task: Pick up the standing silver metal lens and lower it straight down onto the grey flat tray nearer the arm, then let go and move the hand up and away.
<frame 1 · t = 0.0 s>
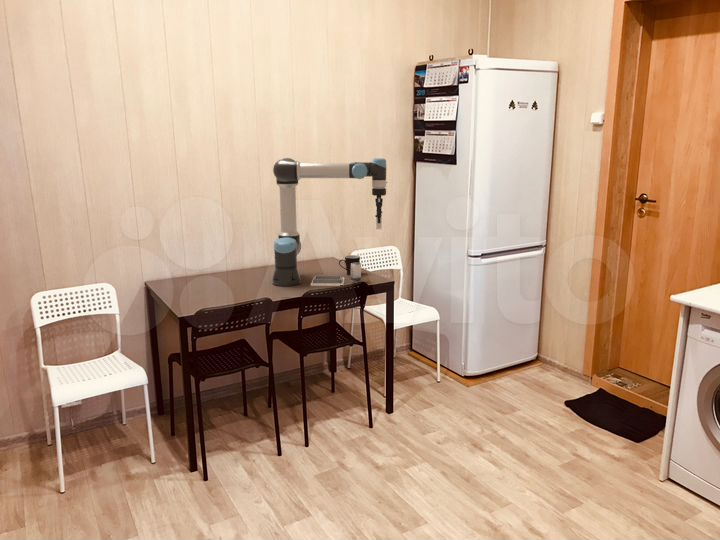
hand: (378, 227, 311), 28 cm above the table, fingers open, 13 cm apart
coffee mug: (349, 274, 325), on the table
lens: (356, 281, 307), on the table
grey flat tray: (327, 282, 307), on the table
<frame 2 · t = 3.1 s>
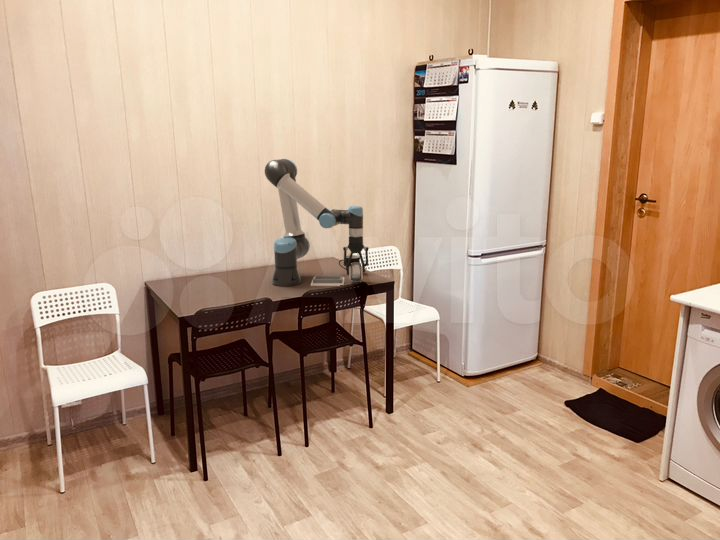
hand: (355, 278, 307), 2 cm above the table, fingers closed on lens, 6 cm apart
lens: (355, 281, 307), on the table, touching gripper
everything else where it was.
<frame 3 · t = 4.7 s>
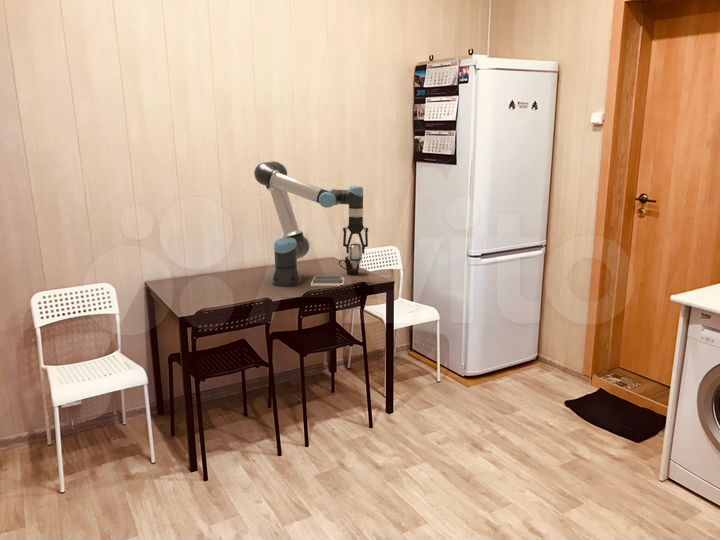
hand: (355, 259, 304), 12 cm above the table, fingers closed on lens, 6 cm apart
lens: (355, 262, 305), point 10 cm above the table, touching gripper
everything else where it was.
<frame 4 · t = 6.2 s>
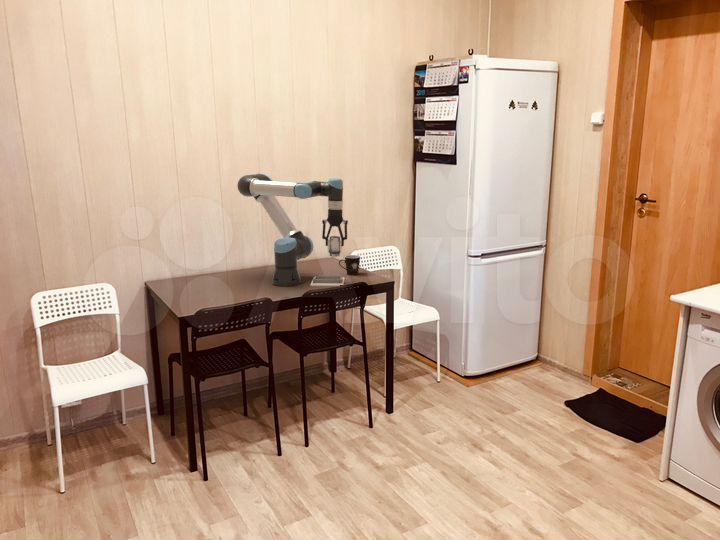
hand: (334, 252, 303), 16 cm above the table, fingers closed on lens, 6 cm apart
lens: (334, 255, 304), point 14 cm above the table, touching gripper
everything else where it was.
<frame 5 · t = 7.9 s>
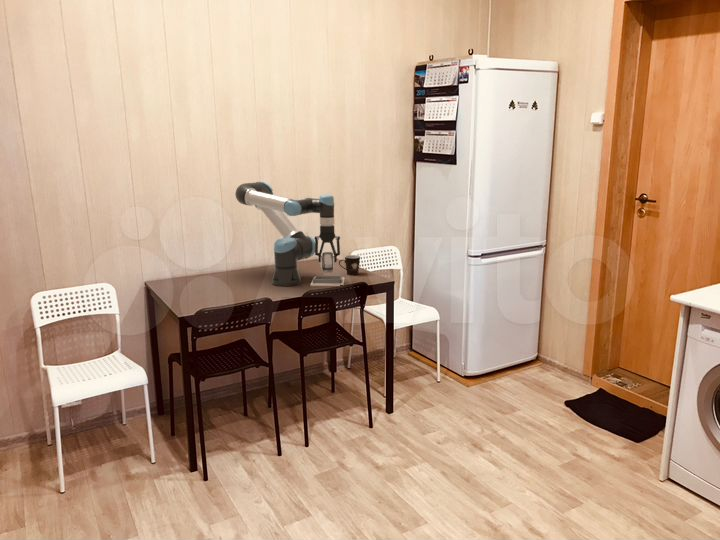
hand: (327, 268, 305), 8 cm above the table, fingers closed on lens, 6 cm apart
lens: (327, 271, 305), point 6 cm above the table, touching gripper
everything else where it was.
when the fingers open (3 cm above the table, at t = 9.5 s): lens stays where it is, resting on grey flat tray.
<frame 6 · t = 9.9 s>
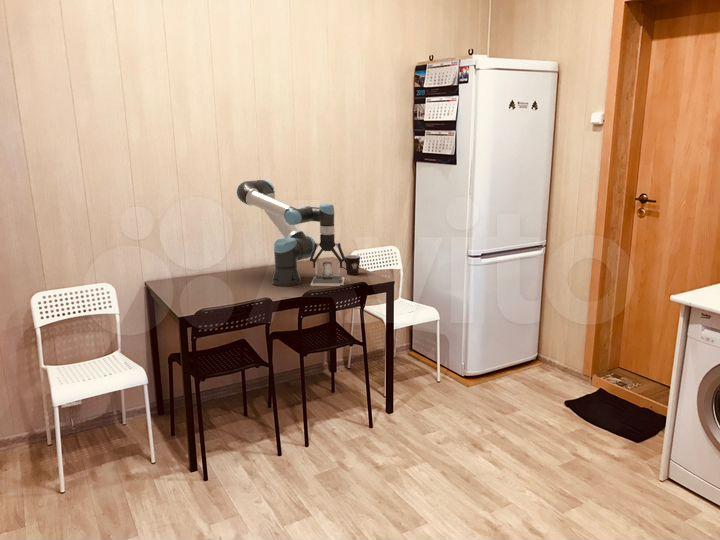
hand: (327, 273, 305), 4 cm above the table, fingers open, 11 cm apart
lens: (327, 281, 306), point 1 cm above the table, touching grey flat tray
everything else where it was.
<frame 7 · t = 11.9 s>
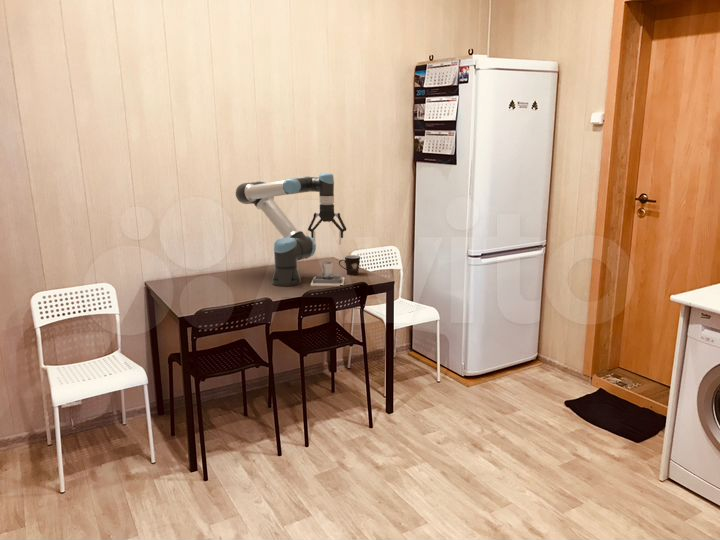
hand: (327, 244, 302), 21 cm above the table, fingers open, 13 cm apart
nothing on the table moved.
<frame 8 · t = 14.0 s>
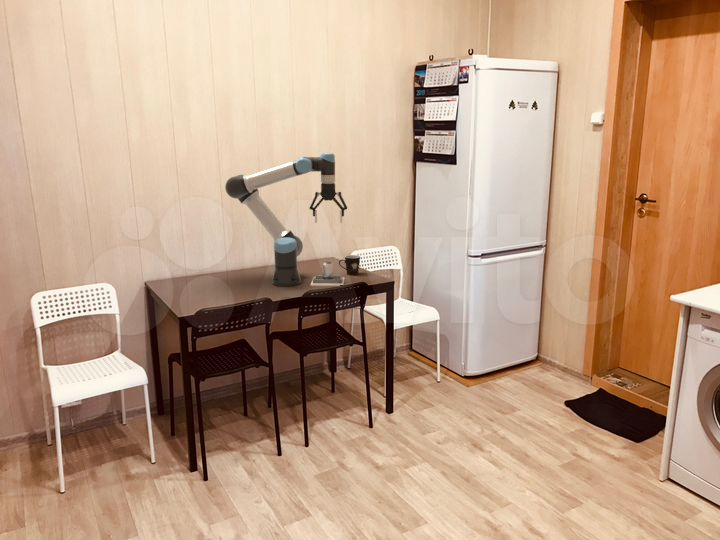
hand: (328, 222, 309), 31 cm above the table, fingers open, 13 cm apart
nothing on the table moved.
at the end: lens 0.0 cm off-centre on the grey flat tray, point 0.6 cm above the grey flat tray's base; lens tilted 1°; the gripper is holding nothing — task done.
